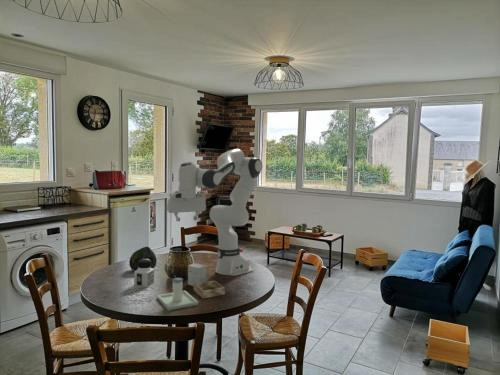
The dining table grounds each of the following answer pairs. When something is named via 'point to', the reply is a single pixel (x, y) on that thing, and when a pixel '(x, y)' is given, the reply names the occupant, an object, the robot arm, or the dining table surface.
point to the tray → (170, 305)
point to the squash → (142, 257)
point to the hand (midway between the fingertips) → (186, 220)
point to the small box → (196, 274)
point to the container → (144, 273)
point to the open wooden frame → (207, 285)
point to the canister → (177, 289)
